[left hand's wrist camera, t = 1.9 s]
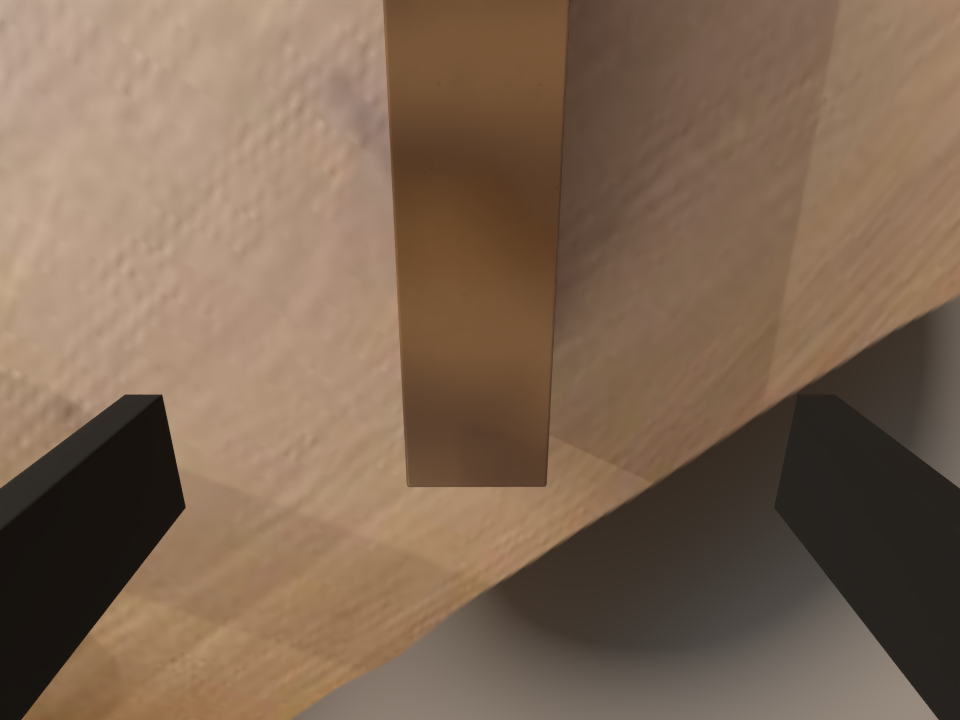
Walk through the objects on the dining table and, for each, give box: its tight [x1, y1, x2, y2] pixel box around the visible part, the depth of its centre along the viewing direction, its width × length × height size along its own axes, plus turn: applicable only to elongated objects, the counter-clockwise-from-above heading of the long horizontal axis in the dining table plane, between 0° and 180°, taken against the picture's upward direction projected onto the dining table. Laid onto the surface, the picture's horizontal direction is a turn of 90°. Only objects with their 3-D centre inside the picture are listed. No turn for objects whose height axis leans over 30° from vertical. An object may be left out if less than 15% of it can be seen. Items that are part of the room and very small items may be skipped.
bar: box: [383, 0, 570, 487], centre depth 18 cm, size 27×4×9 cm, turn 0°
